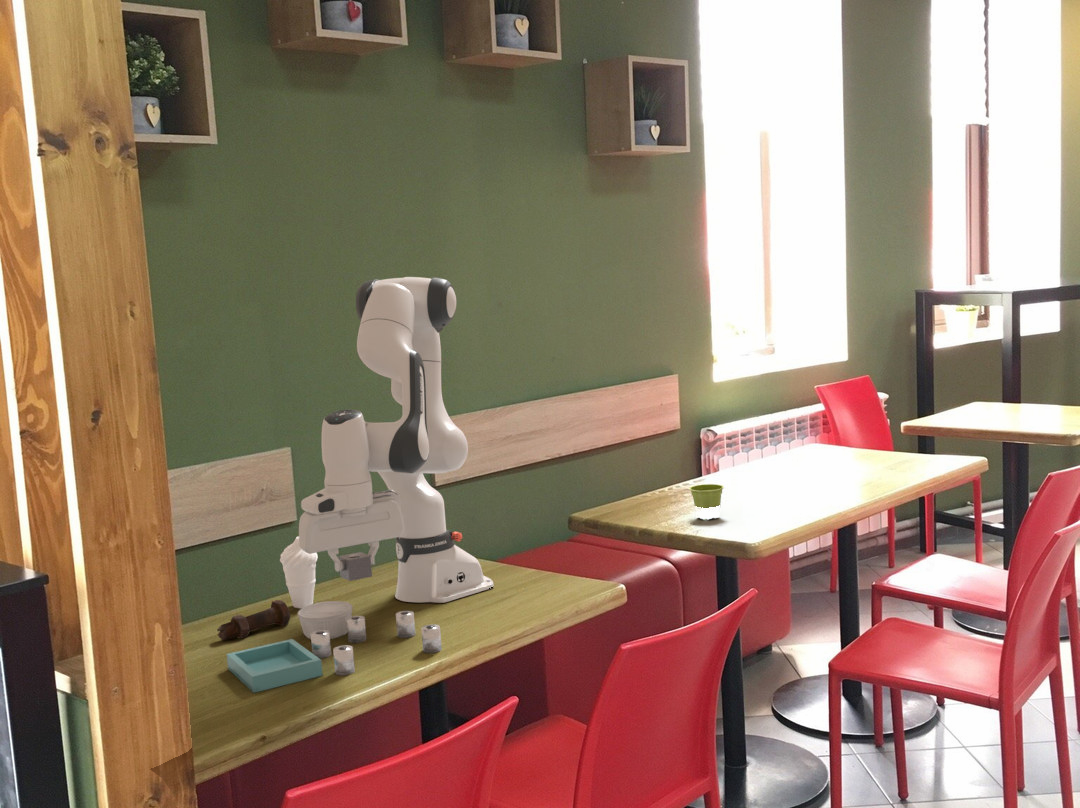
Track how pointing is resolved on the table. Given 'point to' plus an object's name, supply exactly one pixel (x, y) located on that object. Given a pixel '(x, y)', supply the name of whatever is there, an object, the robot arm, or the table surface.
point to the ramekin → (325, 618)
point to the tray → (274, 665)
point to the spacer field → (358, 634)
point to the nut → (356, 566)
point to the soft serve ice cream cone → (299, 574)
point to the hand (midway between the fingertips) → (355, 567)
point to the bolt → (255, 621)
